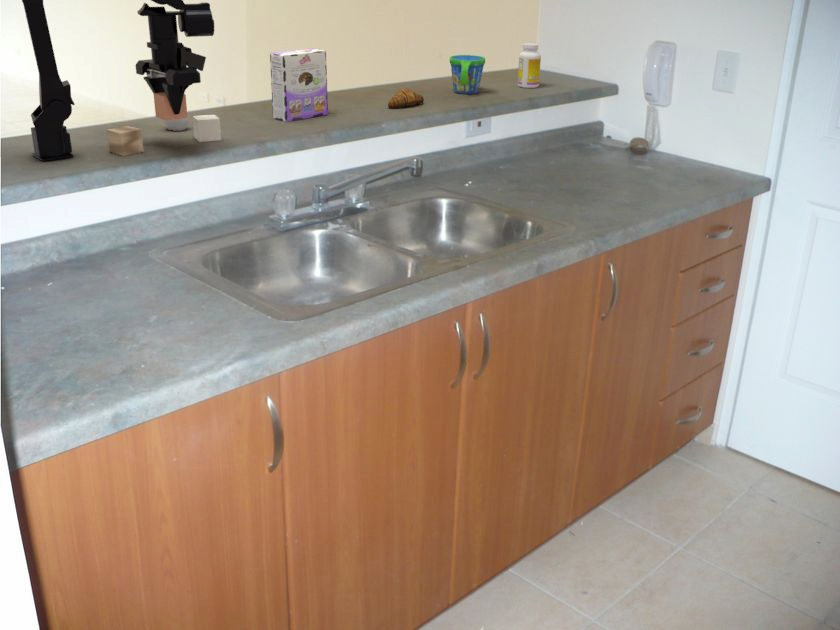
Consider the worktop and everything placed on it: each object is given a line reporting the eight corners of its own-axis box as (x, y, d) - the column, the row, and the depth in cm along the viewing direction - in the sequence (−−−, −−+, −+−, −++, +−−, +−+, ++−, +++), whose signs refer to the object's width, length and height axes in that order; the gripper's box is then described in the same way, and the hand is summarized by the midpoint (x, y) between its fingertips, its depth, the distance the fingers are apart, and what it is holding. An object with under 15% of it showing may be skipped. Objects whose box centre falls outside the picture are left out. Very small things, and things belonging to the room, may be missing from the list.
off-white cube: (199, 142, 200) (197, 120, 198) (194, 137, 204) (192, 116, 202) (221, 140, 202) (219, 118, 200) (215, 135, 206) (214, 114, 204)
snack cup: (478, 98, 256) (480, 62, 252) (443, 95, 259) (444, 60, 255) (488, 89, 270) (489, 54, 266) (454, 87, 273) (455, 53, 268)
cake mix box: (314, 111, 234) (312, 47, 227) (328, 115, 230) (327, 50, 223) (271, 118, 225) (268, 51, 218) (285, 122, 221) (283, 54, 214)
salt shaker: (175, 133, 208) (170, 76, 203) (159, 129, 211) (154, 73, 206) (194, 129, 212) (190, 73, 207) (179, 125, 215) (174, 70, 210)
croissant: (412, 101, 251) (413, 83, 249) (431, 105, 247) (431, 87, 245) (380, 108, 242) (380, 89, 239) (398, 111, 237) (398, 93, 235)
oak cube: (123, 156, 187) (120, 133, 185) (110, 152, 190) (107, 129, 188) (143, 152, 191) (141, 129, 189) (130, 148, 194) (127, 125, 192)
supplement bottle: (542, 86, 277) (545, 44, 271) (533, 89, 271) (536, 46, 266) (523, 84, 280) (525, 42, 275) (513, 87, 275) (516, 44, 269)
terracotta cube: (166, 120, 189) (164, 96, 187) (155, 116, 193) (153, 93, 191) (187, 117, 192) (185, 94, 190) (176, 113, 196) (174, 91, 194)
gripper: (220, 39, 184) (225, 115, 191) (178, 30, 197) (184, 101, 203) (171, 43, 177) (178, 121, 184) (130, 34, 190) (138, 107, 197)
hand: (171, 112), depth 192 cm, fingers closed on terracotta cube, 5 cm apart
